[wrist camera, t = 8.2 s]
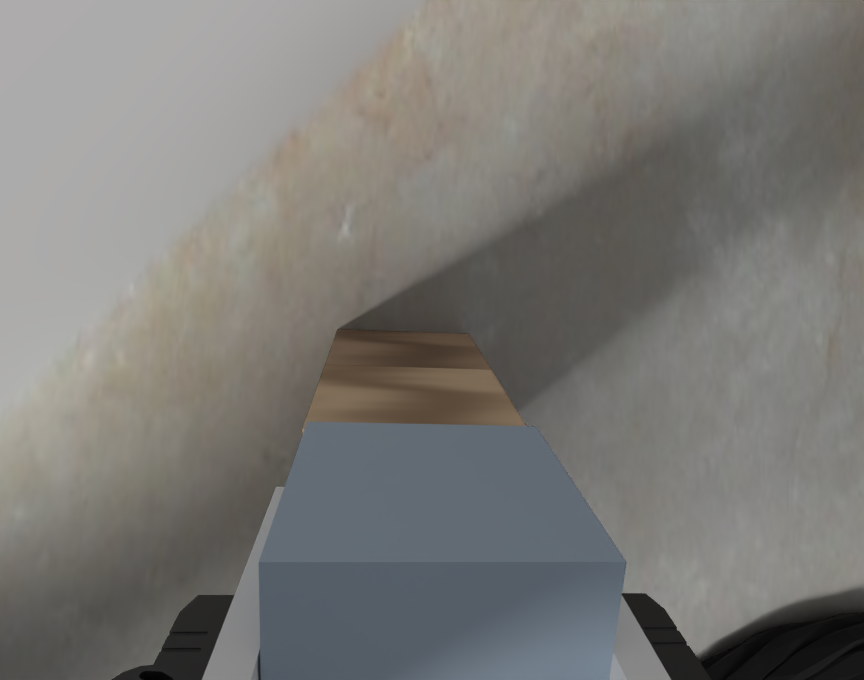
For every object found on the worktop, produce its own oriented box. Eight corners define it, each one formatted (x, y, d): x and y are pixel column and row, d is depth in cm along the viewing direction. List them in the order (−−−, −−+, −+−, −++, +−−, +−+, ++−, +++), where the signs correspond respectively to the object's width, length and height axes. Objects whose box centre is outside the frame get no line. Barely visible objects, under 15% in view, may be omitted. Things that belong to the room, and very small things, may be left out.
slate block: (306, 622, 16) (264, 855, 11) (306, 421, 15) (258, 562, 9) (516, 620, 17) (585, 841, 11) (536, 426, 16) (626, 562, 10)
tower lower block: (335, 450, 28) (323, 516, 22) (337, 328, 27) (325, 364, 21) (460, 452, 29) (479, 517, 23) (468, 332, 27) (491, 369, 21)
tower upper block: (323, 516, 22) (301, 628, 16) (325, 364, 21) (302, 428, 15) (479, 517, 23) (511, 626, 17) (491, 369, 21) (531, 433, 16)
